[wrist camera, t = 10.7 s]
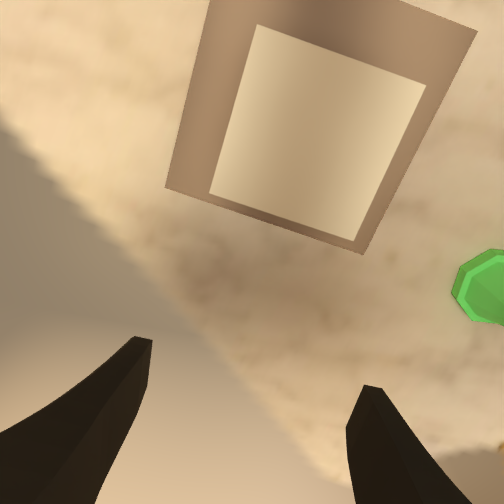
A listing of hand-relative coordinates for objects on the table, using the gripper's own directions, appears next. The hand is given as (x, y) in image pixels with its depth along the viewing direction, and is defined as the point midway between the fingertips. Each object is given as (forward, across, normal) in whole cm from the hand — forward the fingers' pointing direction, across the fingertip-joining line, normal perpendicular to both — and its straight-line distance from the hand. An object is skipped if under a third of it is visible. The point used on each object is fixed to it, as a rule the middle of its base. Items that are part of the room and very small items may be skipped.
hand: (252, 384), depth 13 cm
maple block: (+6, 0, -8) cm, 10 cm away
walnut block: (+10, 0, -8) cm, 13 cm away
